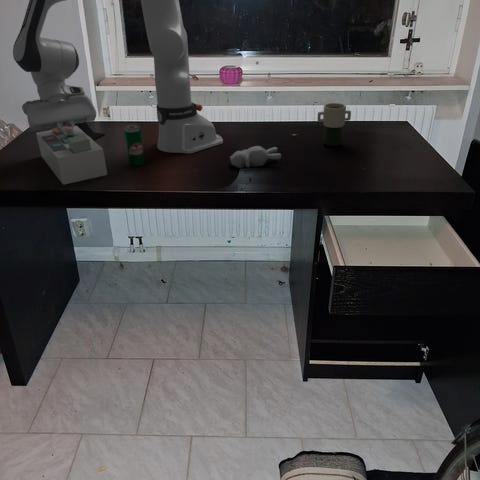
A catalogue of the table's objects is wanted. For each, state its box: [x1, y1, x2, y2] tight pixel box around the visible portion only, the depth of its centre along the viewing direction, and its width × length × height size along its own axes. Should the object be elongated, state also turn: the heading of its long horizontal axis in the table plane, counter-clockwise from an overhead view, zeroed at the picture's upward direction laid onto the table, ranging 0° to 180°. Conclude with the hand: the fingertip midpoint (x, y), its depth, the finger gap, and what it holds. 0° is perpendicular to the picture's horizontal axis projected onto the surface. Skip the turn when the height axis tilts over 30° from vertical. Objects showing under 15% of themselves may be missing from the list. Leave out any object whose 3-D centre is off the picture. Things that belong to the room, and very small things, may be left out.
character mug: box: [317, 102, 352, 147], centre depth 162 cm, size 11×7×13 cm, turn 94°
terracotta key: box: [52, 125, 71, 136], centre depth 159 cm, size 5×5×4 cm
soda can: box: [123, 124, 146, 168], centre depth 151 cm, size 5×5×12 cm
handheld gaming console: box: [63, 122, 106, 142], centre depth 176 cm, size 12×7×10 cm
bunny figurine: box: [229, 145, 282, 169], centre depth 150 cm, size 10×5×15 cm
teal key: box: [61, 135, 78, 144], centre depth 152 cm, size 5×5×4 cm
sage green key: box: [67, 135, 91, 154], centre depth 143 cm, size 5×5×4 cm
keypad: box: [35, 126, 108, 185], centre depth 152 cm, size 13×28×8 cm, turn 31°
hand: (69, 136), depth 150 cm, fingers closed, pressing on teal key
